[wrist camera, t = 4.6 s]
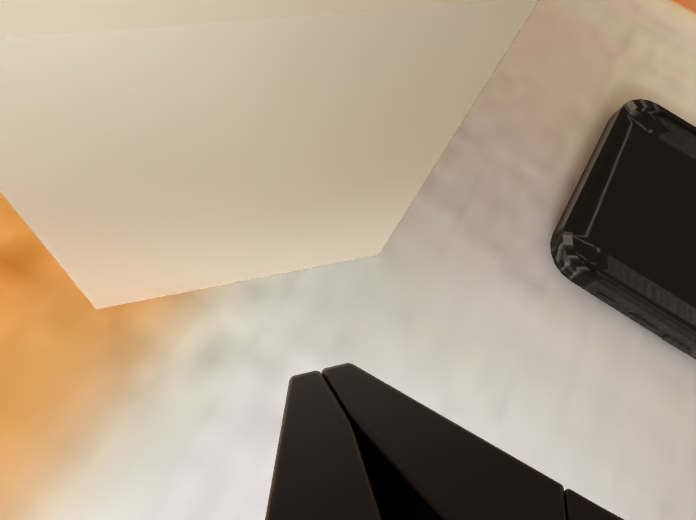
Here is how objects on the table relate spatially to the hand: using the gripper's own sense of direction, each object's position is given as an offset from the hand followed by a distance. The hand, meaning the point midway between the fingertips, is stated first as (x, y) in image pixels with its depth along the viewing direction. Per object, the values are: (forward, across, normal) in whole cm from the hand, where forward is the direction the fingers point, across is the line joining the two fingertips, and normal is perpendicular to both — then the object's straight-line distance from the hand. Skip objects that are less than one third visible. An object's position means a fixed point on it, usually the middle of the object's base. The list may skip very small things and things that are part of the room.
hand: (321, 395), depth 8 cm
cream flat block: (+9, 0, +2) cm, 10 cm away
